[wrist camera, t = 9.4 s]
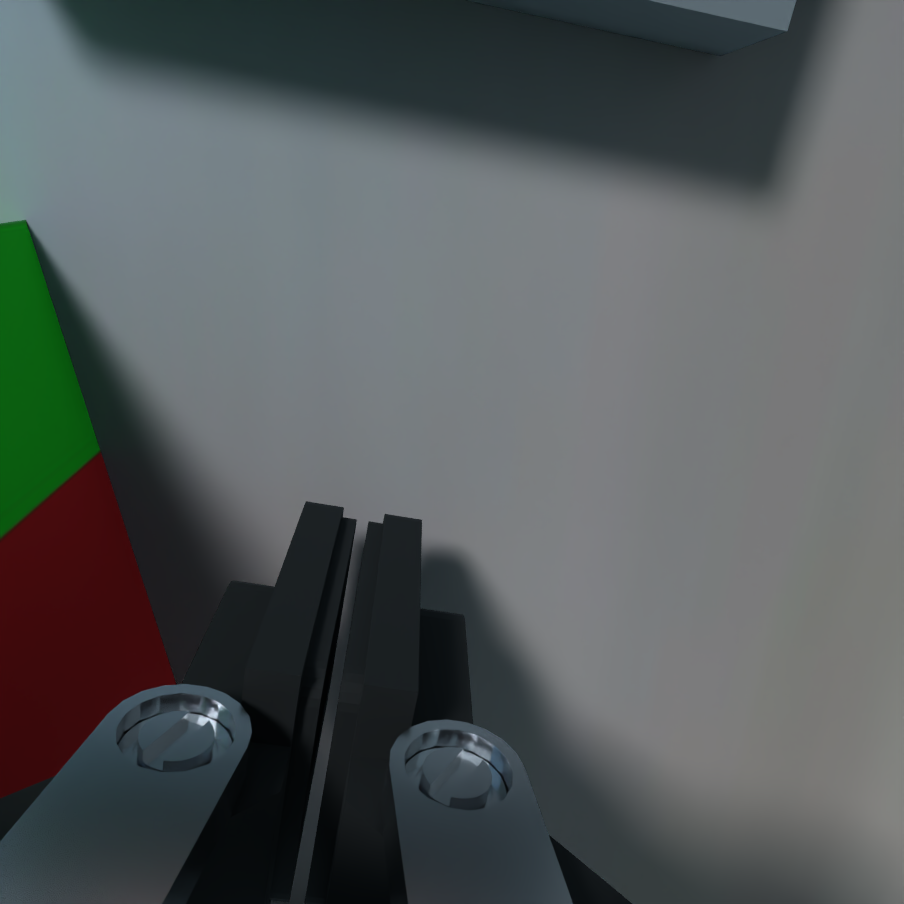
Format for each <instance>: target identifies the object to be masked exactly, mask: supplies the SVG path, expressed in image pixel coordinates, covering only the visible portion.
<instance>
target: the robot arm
mask: <svg viewBox="0 0 904 904" xmlns="http://www.w3.org/2000/svg"><path fill="white" fill-rule="evenodd" d="M343 510H344V508H343V507H337V506H331V505H325V504H319V503H312V502H306V503H305V505H304V508H303V511H302V513H301V516H300V519H299V522H298V524H297V527H296V530H295V533H294V535H293V538H292V541H291V544H290V546H289V549H288V552H287V555H286V557H285V560H284V563H283V566H282V568H281V571H280V574H279V577H278V579H277V582H276V585H275V587H273V586H266V585H259V584H252V583H246V582H239V581H231V583H230V584H229V586H228V588H227V590H226V592H225V594H224V596H223V598H222V600H221V602H220V605H219V607H218V609H217V611H216V613H215V615H214V617H213V619H212V621H211V623H210V626H209V628H208V630H207V632H206V634H205V636H204V638H203V640H202V642H201V645H200V647H199V649H198V651H197V653H196V655H195V657H194V659H193V661H192V663H191V666H190V668H189V670H188V672H187V674H186V676H185V678H184V680H183V682H182V684H178V685H163V686H160V687H156V688H152V689H148V690H144V691H141V692H139V693H137V694H135V695H133V696H131V697H129V698H127V699H125V700H123V701H122V702H121V703H120V704H118V705H117V706H116V707H115V708H114V709H113V710H111V711H110V712H109V713H108V714H107V715H106V717H105V718H104V719H103V720H102V721H101V722H100V724H99V725H98V726H97V727H96V728H95V730H94V731H93V732H92V733H91V734H90V736H89V737H88V738H87V739H86V740H85V741H84V743H83V744H82V745H81V746H80V747H79V749H78V750H77V751H76V752H75V753H74V754H73V756H72V757H71V758H70V759H69V760H68V762H67V763H66V764H65V765H64V766H63V768H62V769H61V770H60V771H59V772H58V773H57V775H56V776H54V777H51V778H49V779H46V780H44V781H41V782H39V783H36V784H34V785H31V786H29V787H27V788H24V789H22V790H19V791H17V792H14V793H12V794H9V795H7V796H5V797H2V798H0V904H270V902H271V900H275V901H283V902H289V900H290V895H291V890H292V884H293V879H294V874H295V869H296V863H297V858H298V853H299V848H300V842H301V837H302V832H303V826H304V821H305V816H306V811H307V805H308V800H309V795H310V790H311V784H312V779H313V774H314V768H315V763H316V758H317V753H318V747H319V742H320V737H321V731H322V726H323V721H324V716H325V710H326V705H327V700H328V694H329V689H330V683H331V677H332V671H333V664H334V658H335V652H336V646H337V640H338V633H339V627H340V621H341V615H342V609H343V602H344V596H345V590H346V584H347V578H348V571H349V565H350V559H351V553H352V547H353V540H354V534H355V528H356V521H357V520H356V519H350V518H343ZM421 537H422V520H419V519H413V518H407V517H400V516H394V515H388V514H385V516H384V521H383V524H381V523H375V522H369V523H368V528H367V534H366V540H365V546H364V552H363V558H362V564H361V570H360V576H359V582H358V588H357V594H356V599H355V605H354V611H353V617H352V623H351V629H350V635H349V641H348V647H347V653H346V659H345V665H344V671H343V676H342V682H341V688H340V694H339V700H338V706H337V712H336V718H335V724H334V730H333V736H332V742H331V748H330V754H329V760H328V766H327V772H326V778H325V784H324V790H323V796H322V802H321V808H320V814H319V820H318V826H317V832H316V838H315V844H314V850H313V856H312V862H311V868H310V874H309V880H308V886H307V892H306V898H305V904H632V903H631V902H629V901H628V900H627V899H626V898H624V897H623V896H622V895H621V894H620V893H618V892H617V891H616V890H615V889H614V888H612V887H611V886H610V885H609V884H608V883H606V882H605V881H604V880H603V879H602V878H600V877H599V876H598V875H597V874H595V873H594V872H593V871H592V870H591V869H589V868H588V867H587V866H586V865H585V864H583V863H582V862H581V861H580V860H579V859H577V858H576V857H575V856H574V855H572V854H571V853H570V852H569V851H568V850H566V849H565V848H564V847H563V846H562V845H560V844H559V843H558V842H557V841H556V840H554V839H553V838H552V837H551V836H550V835H549V834H548V831H547V828H546V826H545V823H544V820H543V817H542V814H541V811H540V809H539V806H538V803H537V800H536V797H535V794H534V792H533V789H532V786H531V783H530V780H529V777H528V775H527V772H526V769H525V767H524V765H523V763H522V762H521V760H520V758H519V756H518V754H517V753H516V752H515V751H514V750H513V749H512V748H511V747H510V746H509V745H508V744H507V743H506V742H505V741H504V740H503V739H501V738H500V737H498V736H496V735H495V734H493V733H492V732H490V731H488V730H487V729H484V728H481V727H479V726H476V725H473V719H472V706H471V693H470V680H469V667H468V655H467V642H466V629H465V619H464V616H463V615H461V614H454V613H447V612H441V611H434V610H427V609H420V586H421Z"/></svg>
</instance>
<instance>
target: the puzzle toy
mask: <svg viewBox="0 0 904 904" xmlns="http://www.w3.org/2000/svg"><path fill="white" fill-rule="evenodd" d="M163 685H176V682H175V679H174V676H173V673H172V670H171V666H170V663H169V660H168V657H167V654H166V651H165V648H164V645H163V642H162V639H161V636H160V633H159V630H158V626H157V623H156V620H155V617H154V614H153V611H152V608H151V605H150V602H149V599H148V596H147V593H146V589H145V586H144V583H143V580H142V577H141V574H140V571H139V568H138V565H137V562H136V559H135V556H134V552H133V549H132V546H131V543H130V540H129V537H128V534H127V531H126V528H125V525H124V522H123V519H122V516H121V512H120V509H119V506H118V503H117V500H116V497H115V494H114V491H113V488H112V485H111V482H110V479H109V475H108V472H107V469H106V466H105V463H104V460H103V457H102V454H101V451H100V448H99V445H98V442H97V439H96V435H95V432H94V429H93V426H92V423H91V420H90V417H89V414H88V411H87V408H86V405H85V402H84V398H83V395H82V392H81V389H80V386H79V383H78V380H77V377H76V374H75V371H74V368H73V365H72V361H71V358H70V355H69V352H68V349H67V346H66V343H65V340H64V337H63V334H62V331H61V328H60V325H59V321H58V318H57V315H56V312H55V309H54V306H53V303H52V300H51V297H50V294H49V291H48V288H47V284H46V281H45V278H44V275H43V272H42V269H41V266H40V263H39V260H38V257H37V254H36V251H35V247H34V244H33V241H32V238H31V235H30V232H29V229H28V226H27V223H26V220H22V221H15V222H8V223H1V224H0V798H2V797H5V796H7V795H9V794H12V793H14V792H17V791H19V790H22V789H24V788H27V787H29V786H31V785H34V784H36V783H39V782H41V781H44V780H46V779H49V778H51V777H54V776H56V775H57V773H58V772H59V771H60V770H61V769H62V768H63V766H64V765H65V764H66V763H67V762H68V760H69V759H70V758H71V757H72V756H73V754H74V753H75V752H76V751H77V750H78V749H79V747H80V746H81V745H82V744H83V743H84V741H85V740H86V739H87V738H88V737H89V736H90V734H91V733H92V732H93V731H94V730H95V728H96V727H97V726H98V725H99V724H100V722H101V721H102V720H103V719H104V718H105V717H106V715H107V714H108V713H109V712H110V711H111V710H113V709H114V708H115V707H116V706H117V705H118V704H120V703H121V702H122V701H123V700H125V699H127V698H129V697H131V696H133V695H135V694H137V693H139V692H141V691H144V690H148V689H152V688H156V687H160V686H163Z"/></svg>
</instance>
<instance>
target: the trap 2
mask: <svg viewBox="0 0 904 904" xmlns="http://www.w3.org/2000/svg"><path fill="white" fill-rule="evenodd" d="M467 1H472V2H476V3H481V4H485V5H490V6H494V7H499V8H503V9H508V10H513V11H517V12H522V13H526V14H531V15H535V16H540V17H544V18H549V19H554V20H558V21H563V22H567V23H572V24H576V25H581V26H585V27H590V28H595V29H599V30H604V31H608V32H613V33H617V34H622V35H626V36H631V37H636V38H640V39H645V40H649V41H654V42H658V43H663V44H667V45H672V46H677V47H681V48H686V49H690V50H695V51H699V52H704V53H708V54H713V55H718V56H722V55H724V54H727V53H730V52H732V51H735V50H738V49H741V48H743V47H746V46H749V45H752V44H754V43H757V42H760V41H762V40H765V39H768V38H771V37H773V36H776V35H779V34H781V33H784V32H787V30H788V27H789V24H790V20H791V17H792V14H793V10H794V7H795V3H796V0H467Z"/></svg>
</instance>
